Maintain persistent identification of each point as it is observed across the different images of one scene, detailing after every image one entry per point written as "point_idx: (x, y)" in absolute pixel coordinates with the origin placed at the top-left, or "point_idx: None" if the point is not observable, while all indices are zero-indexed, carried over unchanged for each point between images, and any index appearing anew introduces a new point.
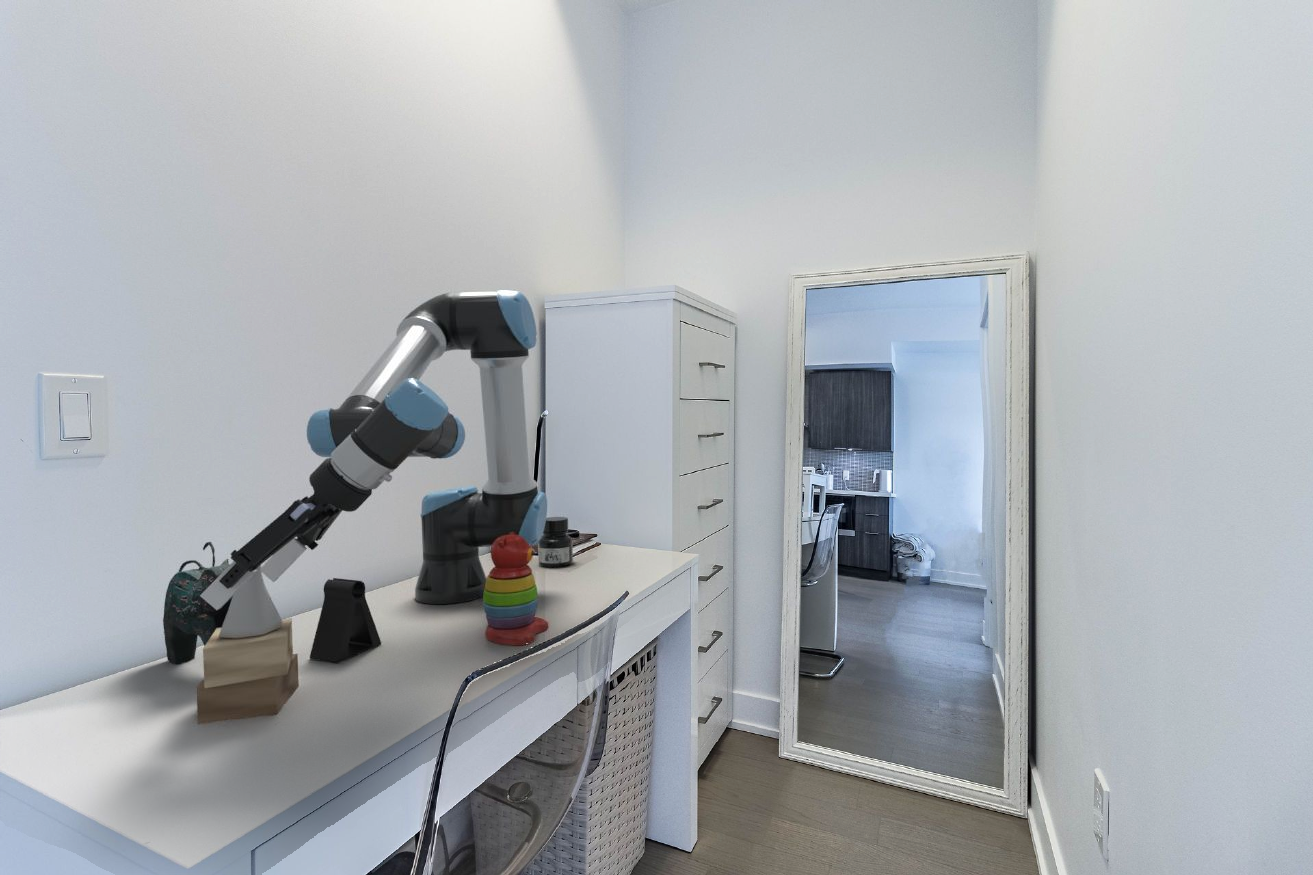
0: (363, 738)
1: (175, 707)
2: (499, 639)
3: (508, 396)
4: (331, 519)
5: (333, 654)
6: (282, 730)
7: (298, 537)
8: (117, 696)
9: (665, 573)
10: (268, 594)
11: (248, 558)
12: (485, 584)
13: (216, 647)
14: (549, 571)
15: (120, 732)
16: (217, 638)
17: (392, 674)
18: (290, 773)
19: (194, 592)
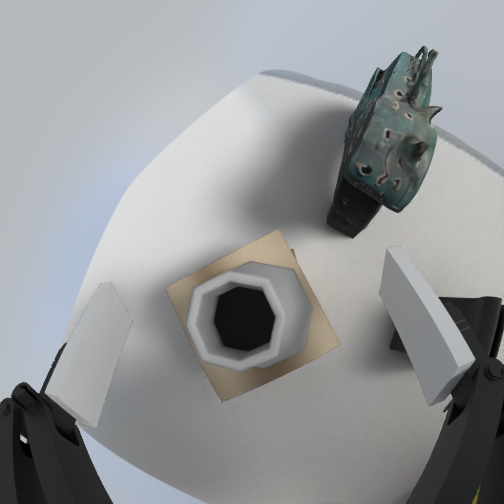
0: (179, 467)
1: (251, 220)
2: None
3: None
4: None
5: (398, 340)
6: (190, 391)
7: (470, 381)
8: (281, 134)
9: None
10: (281, 347)
11: (26, 437)
12: (472, 502)
13: (173, 306)
14: None
15: (192, 209)
16: (216, 275)
17: (344, 440)
18: (122, 427)
19: (361, 111)
